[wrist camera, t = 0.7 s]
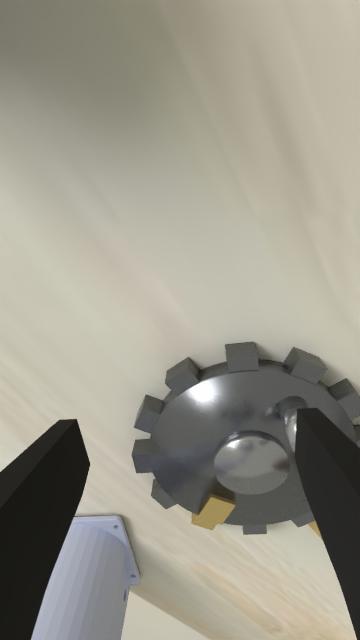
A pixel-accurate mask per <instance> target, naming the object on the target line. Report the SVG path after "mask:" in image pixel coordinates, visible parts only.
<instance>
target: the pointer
mask: <svg viewBox="0 0 360 640" xmlns="http://www.w3.org/2000/svg"><path fill="white" fill-rule="evenodd" d="M308 524H309V525H310V527H311V528H312V529H313V530H314V531H315V532H316V533H317V534H318V535H319V536H320V538H321V539H322V536H321V534H320V531H319V529H318V526H317V524H316V521H313V522H311V523H308ZM322 540H323V539H322Z"/></svg>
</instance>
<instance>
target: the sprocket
mask: <svg viewBox="0 0 360 640" xmlns="http://www.w3.org/2000/svg"><path fill="white" fill-rule="evenodd" d="M225 349H226V360H227V362H223V363H220V364H216V365H212V366H210V367H207V368H205V369H202V370H199V369H198V367H197V366H196V365H195V364H194V363H193V362H192V360H191V359H190V358H189V357H188V358H186V359H185V360H183V361H182V362H180V363H178V364H177V365H175V366H174V367H172V368H171V369H169V370H168V371H167V374H166V380H165V384H166V385H167V386H168V387H169V388H170V389H171V391H170V392H169V394H168V395H167V396H166V397H165V399H164V400H163V401H161V400H159V399H156V398H153V397H150V396H148V395H146V396H145V398H144V400H143V402H142V405H141V407H140V409H139V412H138V414H137V418H136V421H135V425H134V428H136V429H139V430H142V431H145V432H148V433H151V437H150V439H143V440H135V443H134V447H133V451H132V458H133V462H134V466H135V469H136V473H150V472H153V474H154V476H155V478H156V479H154V480H153V486H152V493H151V496H152V497H153V498H154V499H155V500H156V501H157V502H158V503H160V504H161V505H162V506H163V507H164V508H165V509H168V508H170V507H172V506H174V505H176V504H179V505H180V506H182V507H184V508H185V509H187V510H188V511H190V512H192V524H194V525H197V526H201V527H204V528H207V529H210V530H213V529H214V527H215V526H216V525H217V523H218V524H223V523H226V524H232V525H242V526H243V534H244V535H247V534H267V530H266V525H267V524H274V523H279V522H283V521H287V520H292V521H293V522H294V523H295V524H296V526H297V527H301V526H303V525H306V524H308V523H311V522H313V521H315V519H314V516H313V514H312V511H311V508H310V506H309V503H308V501H307V498H306V495H305V493H304V490H303V487H302V483H301V480H300V476H299V472H298V468H297V465H296V461H295V439H296V418H297V409H299V408H318V409H319V410H320V411H321V412H322V413H323V414H325V415H326V416H327V417H328V418H329V419H330V420H331V421H332V422H333V423H334V424H335V425H336V426H337V427H338V428H339V429H340V430H341V431H342V432H343V433H344V434H345V435H346V436H348V437H349V438H350V439H351V440H352V441H353V442H354V443H355V444H356V445H357V446H358V447H359V448H360V425H354V426H353V425H352V422H351V420H352V419H354V418H356V417H358V416H360V396H359V395H358V393H357V392H356V390H355V389H354V388H353V386H352V385H351V384H350V383H349V381H348V380H347V379H344V380H342V381H340V382H338V383H336V384H335V385H333V386H331V387H329V388H328V387H327V386H326V385H325V384H323V383H322V382H321V381H320V379H321V377H322V376H323V374H324V373H325V372H326V370H327V368H326V367H325V365H324V364H323V362H322V361H321V360H320V358H319V357H317V356H315V355H312V354H310V353H307V352H305V351H302V350H300V349H297V348H295V347H293V349H292V350H291V352H290V353H289V355H288V357H287V358H286V360H285V361H284V363H281V362H276V361H271V360H260V359H258V352H257V349H256V346H255V344H254V342H246V343H236V344H226V345H225Z"/></svg>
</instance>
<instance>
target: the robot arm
mask: <svg viewBox="0 0 360 640" xmlns="http://www.w3.org/2000/svg"><path fill="white" fill-rule="evenodd" d="M295 461H296V465H297V468H298V472H299V476H300V480H301V483H302V487H303V490H304V493H305V495H306V498H307V501H308V503H309V506H310V508H311V511H312V514H313V516H314V519H315V521H316V524H317V526H318V529H319V531H320V534H321V536H322V539H323V542H324V544H325V547H326V549H327V552H328V554H329V557H330V559H331V562H332V564H333V567H334V569H335V572H336V575H337V578H338V580H339V583H340V586H341V589H342V592H343V595H344V598H345V601H346V604H347V608H348V611H349V614H350V617H351V621H352V624H353V627H354V631H355V634H356V637H357V640H360V448H359V447H358V446H357V445H356V444H355V443H354V442H353V441H352V440H351V439H350V438H349V437H348V436H346V435H345V434H344V433H343V432H342V431H341V430H340V429H339V428H338V427H337V426H336V425H335V424H334V423H333V422H332V421H331V420H330V419H329V418H328V417H327V416H326V415H325V414H323V413H322V412H321V411H320V410H319V409H318V408H299V409H297V418H296V439H295ZM89 467H90V462H89V458H88V455H87V452H86V448H85V445H84V442H83V438H82V435H81V432H80V428H79V425H78V422H77V419H68V420H59V421H58V422H56V423H55V424H54V425H53V426H52V427H50V428H49V429H48V430H47V431H46V432H45V433H44V434H43V435H41V436H40V437H39V438H38V439H37V440H36V441H35V442H34V443H33V444H32V445H30V446H29V447H28V448H27V449H26V450H25V451H24V452H23V453H21V454H20V455H19V456H18V457H17V458H16V459H15V460H14V461H12V462H11V463H10V464H9V465H8V466H7V467H6V468H5V469H3V470H2V471H1V472H0V640H121V635H122V629H123V623H124V617H125V611H126V606H127V600H128V594H129V588H130V585H139V584H140V581H141V577H140V574H139V571H138V568H137V565H136V561H135V558H134V555H133V552H132V549H131V546H130V543H129V539H128V536H127V533H126V530H125V527H124V524H123V521H122V518H121V517H120V516H117V515H113V516H88V517H74V515H75V513H76V510H77V508H78V505H79V502H80V500H81V497H82V494H83V490H84V487H85V483H86V479H87V475H88V471H89Z"/></svg>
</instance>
